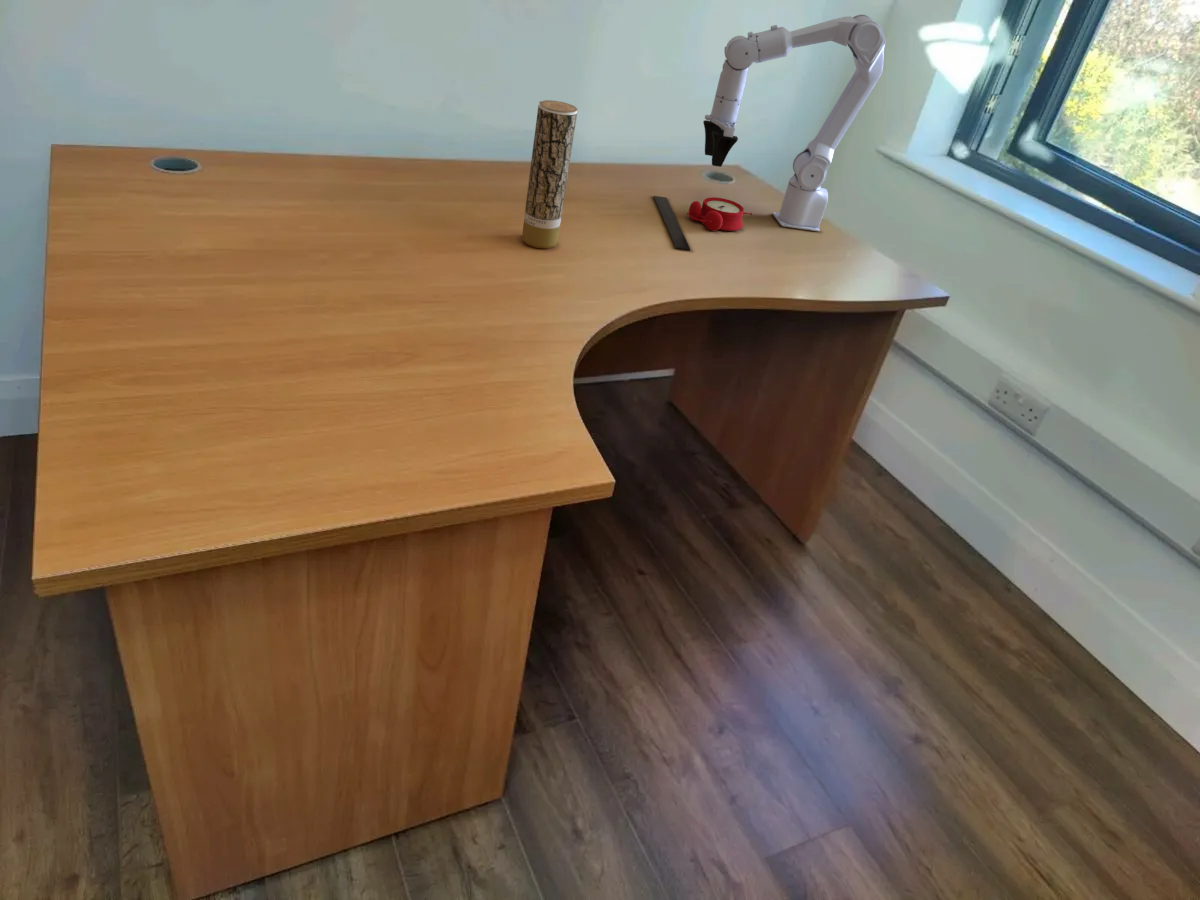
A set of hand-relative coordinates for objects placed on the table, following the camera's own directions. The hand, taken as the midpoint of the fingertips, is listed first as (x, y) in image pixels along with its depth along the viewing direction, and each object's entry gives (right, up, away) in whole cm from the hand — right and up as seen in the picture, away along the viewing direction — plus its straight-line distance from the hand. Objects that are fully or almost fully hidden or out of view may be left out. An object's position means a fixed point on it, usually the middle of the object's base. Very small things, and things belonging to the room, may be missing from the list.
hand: (712, 160), depth 188 cm
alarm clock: (0, -15, -3) cm, 16 cm away
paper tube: (-37, -26, -30) cm, 54 cm away
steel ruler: (-10, -16, -8) cm, 21 cm away
